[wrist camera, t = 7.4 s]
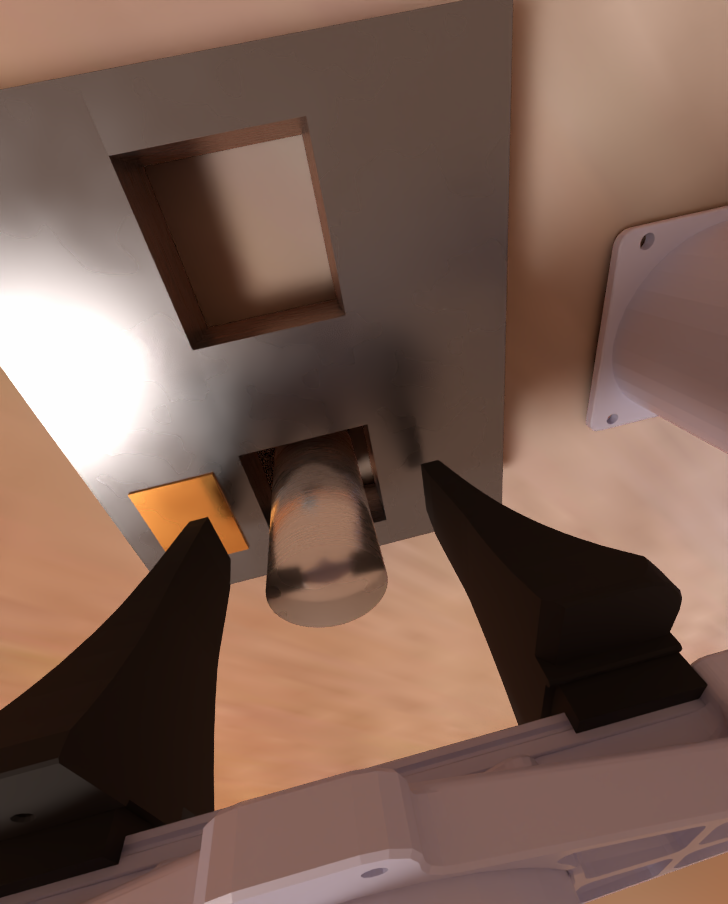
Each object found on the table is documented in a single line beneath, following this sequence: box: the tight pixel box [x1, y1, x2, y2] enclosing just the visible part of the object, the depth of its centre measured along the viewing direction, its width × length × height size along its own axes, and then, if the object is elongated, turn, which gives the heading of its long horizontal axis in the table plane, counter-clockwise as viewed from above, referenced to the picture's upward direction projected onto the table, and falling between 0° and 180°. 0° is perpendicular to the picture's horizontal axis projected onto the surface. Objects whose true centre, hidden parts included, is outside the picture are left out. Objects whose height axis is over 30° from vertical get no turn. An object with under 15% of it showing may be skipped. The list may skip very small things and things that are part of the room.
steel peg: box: [266, 430, 388, 627], centre depth 13 cm, size 3×3×7 cm
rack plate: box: [0, 0, 513, 584], centre depth 13 cm, size 14×15×3 cm
